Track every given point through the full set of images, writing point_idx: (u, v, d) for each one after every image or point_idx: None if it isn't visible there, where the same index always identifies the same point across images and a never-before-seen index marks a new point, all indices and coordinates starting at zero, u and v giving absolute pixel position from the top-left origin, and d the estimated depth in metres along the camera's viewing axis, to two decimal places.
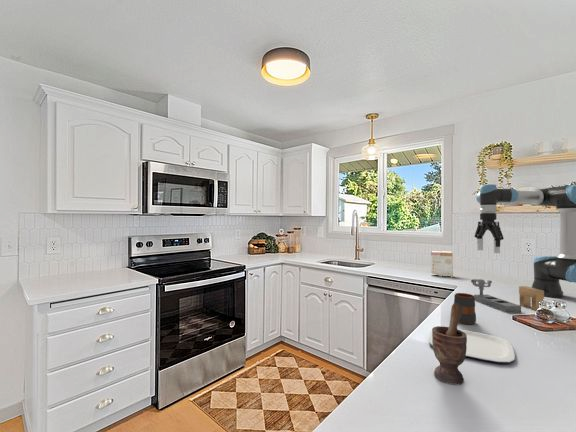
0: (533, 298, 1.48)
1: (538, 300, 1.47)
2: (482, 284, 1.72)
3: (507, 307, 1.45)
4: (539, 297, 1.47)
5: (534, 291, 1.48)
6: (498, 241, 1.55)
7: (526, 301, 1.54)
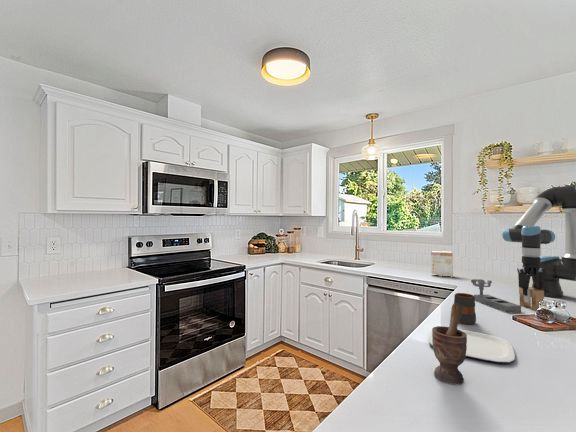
0: (533, 298, 1.48)
1: (538, 300, 1.47)
2: (482, 284, 1.72)
3: (507, 307, 1.45)
4: (539, 297, 1.47)
5: (534, 291, 1.48)
6: (523, 289, 1.52)
7: None
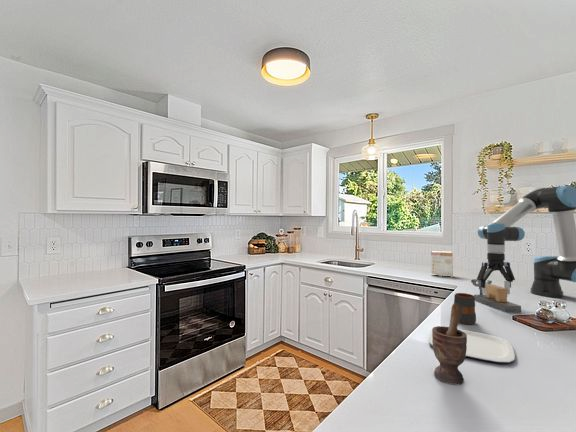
0: (497, 296, 1.52)
1: (502, 298, 1.51)
2: None
3: (507, 307, 1.45)
4: (503, 295, 1.51)
5: (498, 289, 1.52)
6: (481, 282, 1.55)
7: None
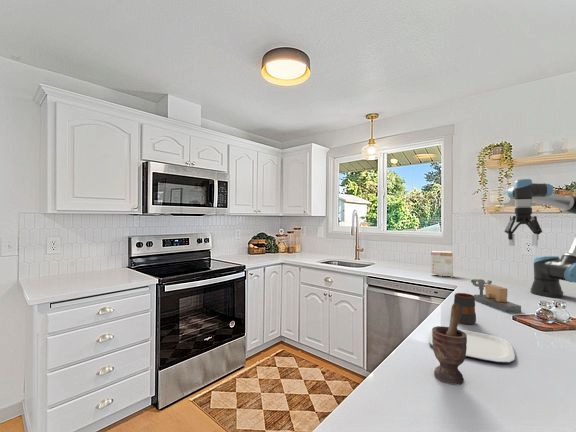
0: (497, 296, 1.52)
1: (502, 298, 1.51)
2: (482, 284, 1.72)
3: (507, 307, 1.45)
4: (503, 295, 1.51)
5: (498, 289, 1.52)
6: (508, 234, 1.64)
7: None
